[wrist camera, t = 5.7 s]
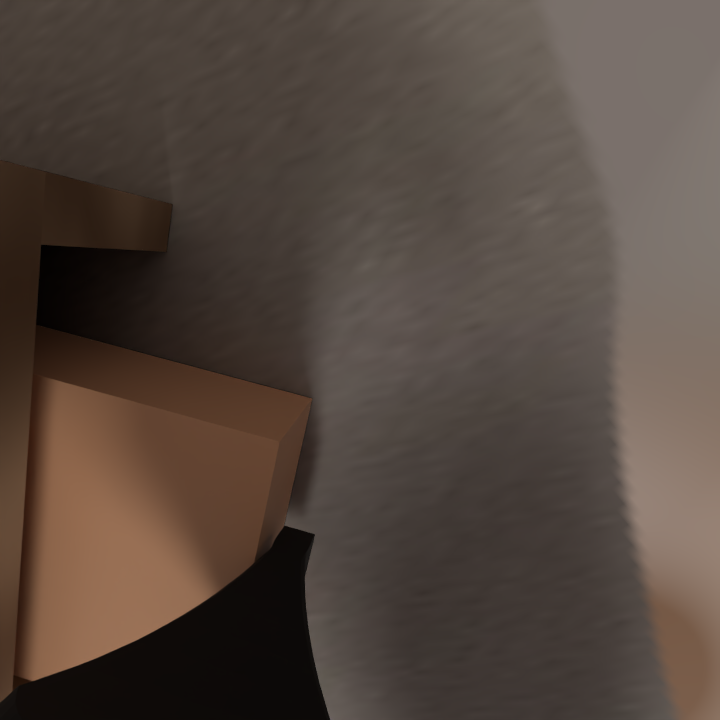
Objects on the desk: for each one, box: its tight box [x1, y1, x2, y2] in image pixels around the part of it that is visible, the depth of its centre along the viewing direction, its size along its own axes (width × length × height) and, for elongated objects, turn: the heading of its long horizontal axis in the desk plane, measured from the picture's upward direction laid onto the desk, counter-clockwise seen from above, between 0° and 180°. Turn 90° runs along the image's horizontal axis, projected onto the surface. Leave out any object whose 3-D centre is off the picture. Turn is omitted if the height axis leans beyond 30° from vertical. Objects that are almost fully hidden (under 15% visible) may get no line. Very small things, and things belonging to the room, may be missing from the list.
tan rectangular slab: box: [13, 325, 312, 681], centre depth 12 cm, size 8×12×3 cm, turn 77°
